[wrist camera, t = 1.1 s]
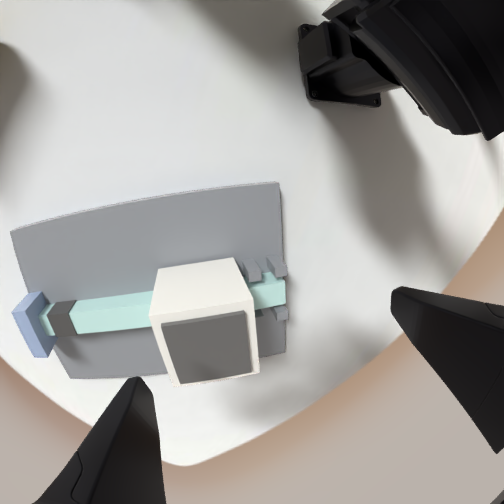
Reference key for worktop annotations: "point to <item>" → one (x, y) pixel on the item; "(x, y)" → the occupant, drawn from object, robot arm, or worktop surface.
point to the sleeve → (204, 322)
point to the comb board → (143, 273)
